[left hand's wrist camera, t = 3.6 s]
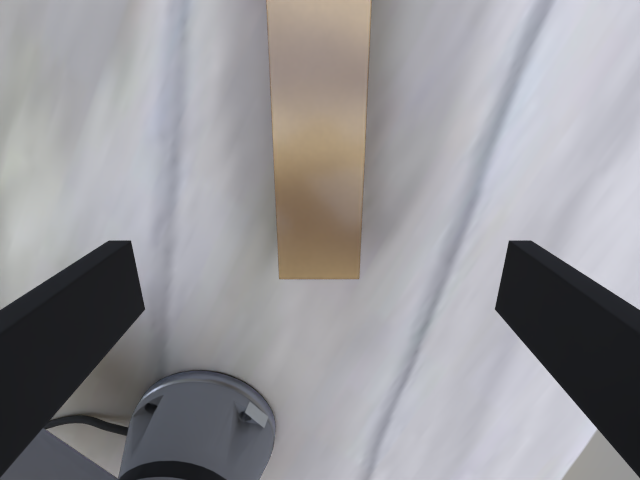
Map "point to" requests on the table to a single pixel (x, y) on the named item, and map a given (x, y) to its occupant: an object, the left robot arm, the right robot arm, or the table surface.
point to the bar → (319, 133)
